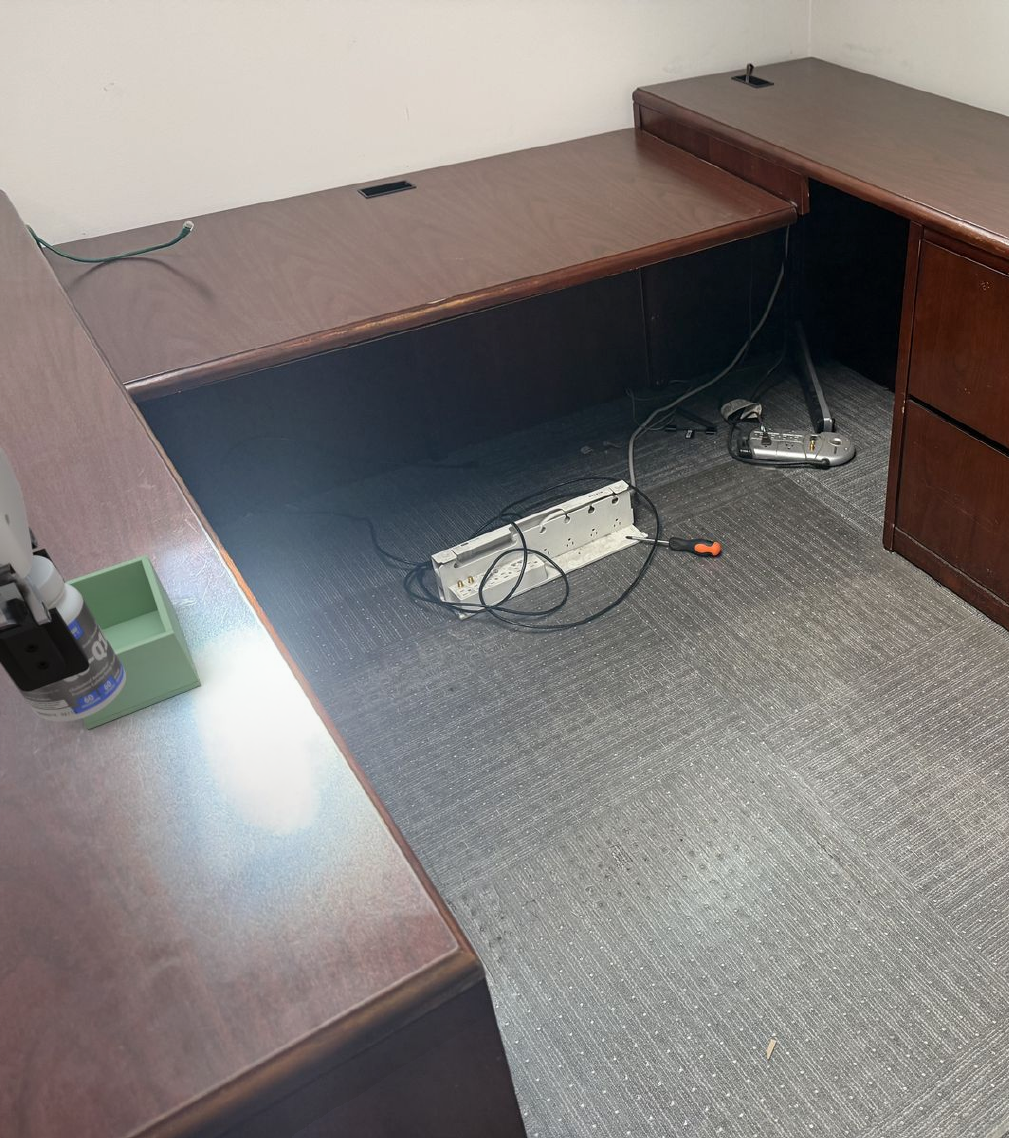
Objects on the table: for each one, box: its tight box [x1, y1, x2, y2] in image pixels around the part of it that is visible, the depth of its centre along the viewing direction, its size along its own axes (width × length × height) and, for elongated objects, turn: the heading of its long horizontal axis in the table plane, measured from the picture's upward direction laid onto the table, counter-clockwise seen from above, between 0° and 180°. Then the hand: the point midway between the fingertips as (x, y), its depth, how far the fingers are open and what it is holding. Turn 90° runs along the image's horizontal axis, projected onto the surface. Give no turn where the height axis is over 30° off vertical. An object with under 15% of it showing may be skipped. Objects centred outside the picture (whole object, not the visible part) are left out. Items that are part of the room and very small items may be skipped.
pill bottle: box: [0, 555, 126, 723], centre depth 55 cm, size 5×5×8 cm
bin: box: [65, 554, 202, 730], centre depth 79 cm, size 11×8×6 cm
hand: (50, 644), depth 55 cm, fingers closed on pill bottle, 4 cm apart
